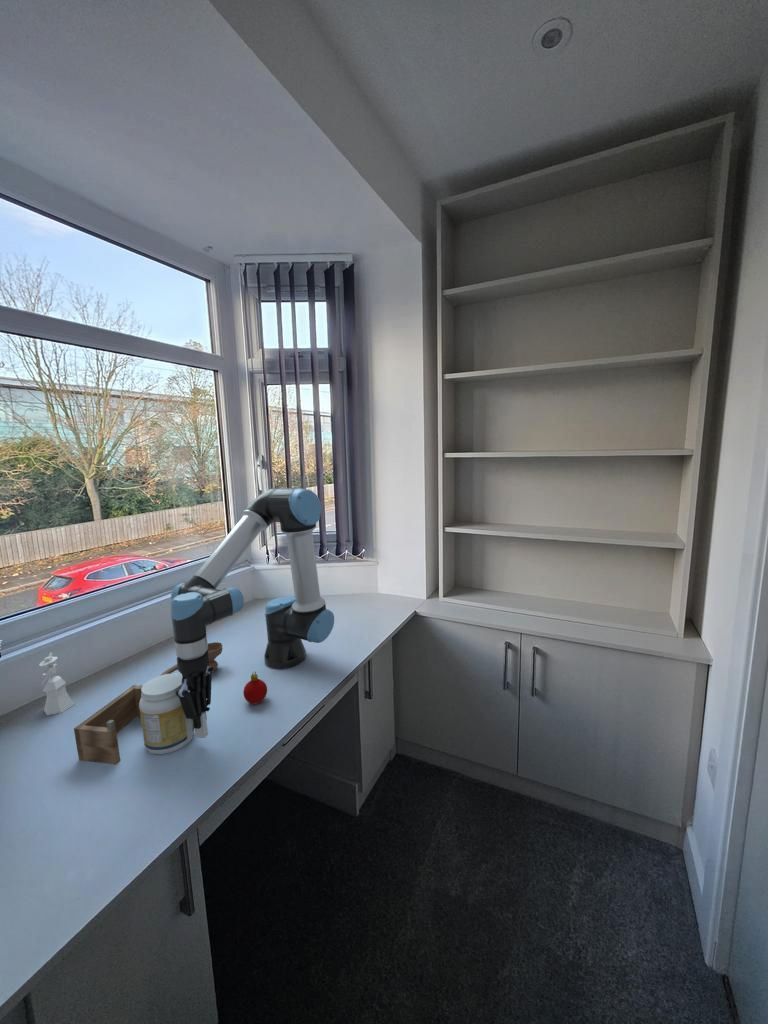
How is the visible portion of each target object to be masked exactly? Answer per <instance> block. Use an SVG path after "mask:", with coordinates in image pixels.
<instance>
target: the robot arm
mask: <svg viewBox="0 0 768 1024" xmlns="http://www.w3.org/2000/svg"><path fill="white" fill-rule="evenodd" d="M322 510H323V509H322V503H321V501H320V497H318V495H317V494H316V493H315V492H314V491H313V490H311V489H308V488H302V487H294V488H293V487H292V488H291V487H274V488H273V487H272V488H270V489H267V490H266V491H263V492H262V493H260V494H259V495H257V497H255V498H254V499H253V500H252V501H251V502H250V503H249V504H248V505H247V506H246V507H245V509H244V510H243V511H242V512H241V518H240V519H239V521H237V523H235V525H234V527H232V529H231V530H230V532H229V533H228V534H227V535H226V536H225V537H224V538H223V540H221V542H220V543H219V544H218V546H217V547H216V548H215V549H214V551H213V552H212V553H211V554H210V556H208V558H207V559H206V560H205V562H204V563H203V564H202V565H201V566H200V567H199V568H198V570H197V571H196V572H195V574H193V576H192V577H191V579H189V580H188V582H181V583H178V584H177V585H176V586H174V587H173V590H172V592H171V593H170V594H171V596H170V599H171V602H170V618H171V621H172V623H171V624H172V630H173V637H174V639H173V640H174V643H175V654H176V664H177V666H178V669H177V671H178V672H179V674H180V675H182V684H183V685H182V687H181V689H180V690H177V691H176V695H177V696H178V697H179V699H180V702H181V705H182V708H183V711H184V713H185V716H186V719H193V727H194V736H195V738H200V739H206V738H207V737H208V735H209V732H208V731H209V730H208V724H207V712H209V711H210V709H211V708H210V707H208V706H210V705H211V703H212V679H213V672H214V671H213V667H207V666H208V665H209V654H208V651H207V650H208V644H209V643H208V636H207V626H210V625H212V624H215V623H216V622H219V621H221V620H224V619H226V618H228V617H231V616H233V615H234V614H236V613H238V612H240V611H241V610H243V607H244V606H245V600H244V597H245V596H244V594H243V592H242V591H241V590H240V589H239V588H238V587H236V586H230V587H225V588H222V589H217V588H218V587H219V585H220V584H221V583H222V582H223V580H224V579H226V577H227V575H228V574H229V572H231V570H232V569H233V568H234V567H235V565H236V564H237V562H238V561H239V560H240V559H241V557H242V556H243V555H244V553H245V552H246V551H247V549H248V548H249V547H250V545H252V543H253V542H254V540H256V538H257V537H258V535H259V534H260V533H261V532H263V531H266V530H267V528H269V526H271V525H272V524H274V523H279V526H280V531H281V533H282V534H284V535H285V536H286V541H287V549H288V556H289V564H290V572H291V578H292V585H293V593H294V596H293V595H285V596H281V597H277V598H274V599H272V600H269V601H268V602H267V603H266V605H265V613H264V617H265V622H266V623H265V624H266V635H267V644H266V646H265V647H266V648H265V652H264V656H263V659H264V664H265V665H266V667H269V668H272V669H278V670H280V669H289V668H293V667H295V666H299V665H300V664H301V663H302V662H304V660H306V658H307V652H306V647H305V646H304V643H303V641H302V640H304V641H307V642H309V643H317V644H319V643H320V644H321V643H322V642H324V641H326V640H327V639H328V637H329V636H330V635H331V633H332V631H333V628H334V624H335V615H334V613H333V612H332V610H330V609H328V608H327V606H326V599H324V598H323V597H321V592H320V584H319V576H318V566H317V559H316V551H315V550H316V549H315V544H314V542H315V541H314V535H313V531H315V529H316V528H317V524H316V523H318V522H319V520H320V519H321V515H322Z"/></svg>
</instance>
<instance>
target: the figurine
mask: <svg viewBox="0 0 768 1024" xmlns="http://www.w3.org/2000/svg"><path fill="white" fill-rule="evenodd" d="M48 653H49V654H48V655H47V656H46V657H44V659H43V660H42V661H41V662H40V663H39V664H38V665H39V666H40V667H43V666H44V667H46V668H45V670H44V673H42V676H45V678H44V679H43V680H42V682H41V686H44V684H45V682H46V684H45V686H44V687H43V689H42V692H43V693H46V694H45V695H46V699H45V705H44V708H43V711H44V713H45V714H46V716H50V715H51V714H52V715H56V714H57V713H58V714H62V713H63V712H65V711H66V710H68V709H69V708H71V707H73V706H75V703H74V701H73V699H72V698H71V697H70V695H69V693H68V692H67V688H66V683H67V682H66V681H65V679H63V678H62V677H61V676H60V675H55V674H56V673H57V670H58V664H57V661H56V660H57V659H58V656H53V654H54V652H48ZM61 712H62V713H61Z"/></svg>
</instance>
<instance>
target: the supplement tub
mask: <svg viewBox="0 0 768 1024" xmlns="http://www.w3.org/2000/svg"><path fill="white" fill-rule="evenodd" d="M160 675H161V674H160ZM160 675H158V676H155V677H153V678H151V679H149V680H147V682H145V683H144V684H143V685H142V686H143V687H142V689H141V692H142V693H141V697H142V698H141V699H140V702H139V708H140V715H141V716H140V721H141V727H142V735H143V742H144V747H145V749H146V751H147V752H148V753H150V754H153V755H164V754H165V755H167V754H171V753H174V752H175V751H178V750H180V749H181V748H184V747H185V746H186V745H187V744H188V743H189V742H191V740H192V739H193V737H194V735H195V729H194V727H193V719H186V716H185V713H184V711H183V708H182V705H181V702H180V699H179V697H178V696H177V695H176V691H177V690H180V689H181V687H182V685H183V684H182V674H181V673H169V674H165V675H161V676H160Z"/></svg>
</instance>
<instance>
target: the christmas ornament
mask: <svg viewBox="0 0 768 1024" xmlns="http://www.w3.org/2000/svg"><path fill="white" fill-rule="evenodd" d="M242 693H243V697H244V699H245V701H246V702H248V703H249V704H252V705H253V704H254V705H255V704H258V703H259V704H260V703H261V702H262V701H264V699H265V698H266V696H267V694H268V686H267V684H266V683H265V681H264V680H262V679H260V678H258V674H257V672H256V671H253V672H252V673H251V675H250V680H249V681H248V682H247V683H246V684H245V686H244V688H243V692H242Z"/></svg>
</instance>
